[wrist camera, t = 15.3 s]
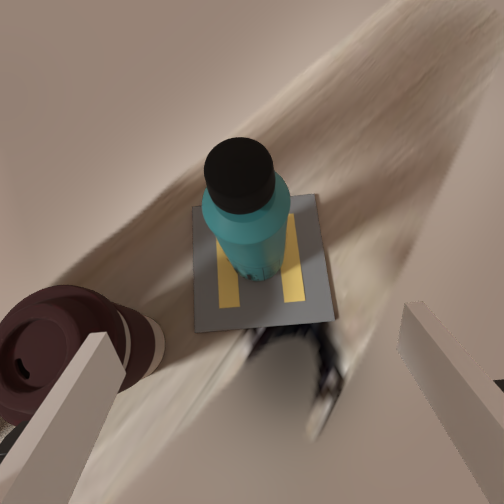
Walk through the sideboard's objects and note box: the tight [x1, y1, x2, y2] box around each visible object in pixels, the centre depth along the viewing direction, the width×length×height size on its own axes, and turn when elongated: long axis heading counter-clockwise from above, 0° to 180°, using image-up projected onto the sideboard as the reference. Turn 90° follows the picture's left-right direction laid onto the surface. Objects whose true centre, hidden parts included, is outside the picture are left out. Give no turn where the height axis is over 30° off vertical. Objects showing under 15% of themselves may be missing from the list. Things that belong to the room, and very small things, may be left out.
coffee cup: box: [0, 285, 165, 426], centre depth 26 cm, size 10×10×15 cm
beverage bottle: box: [202, 137, 291, 282], centre depth 25 cm, size 6×7×20 cm
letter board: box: [192, 194, 335, 333], centre depth 35 cm, size 16×16×1 cm
